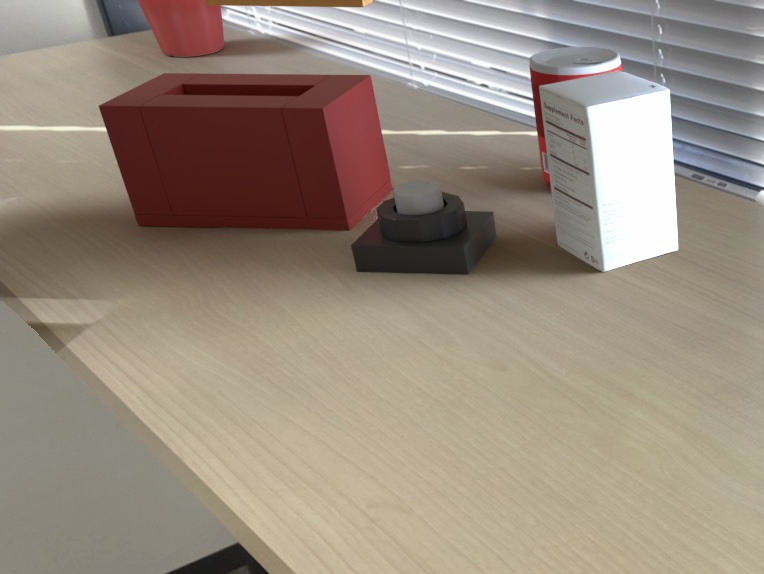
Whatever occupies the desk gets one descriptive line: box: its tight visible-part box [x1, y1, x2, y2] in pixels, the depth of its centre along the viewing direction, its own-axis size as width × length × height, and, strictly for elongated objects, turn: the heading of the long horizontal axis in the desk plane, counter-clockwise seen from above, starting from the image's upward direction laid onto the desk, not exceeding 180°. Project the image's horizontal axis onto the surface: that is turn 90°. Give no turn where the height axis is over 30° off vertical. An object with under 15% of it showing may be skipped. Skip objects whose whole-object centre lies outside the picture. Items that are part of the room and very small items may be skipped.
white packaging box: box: [539, 70, 679, 273], centre depth 89 cm, size 7×7×13 cm
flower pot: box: [137, 0, 225, 58], centre depth 150 cm, size 11×11×10 cm
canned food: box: [528, 46, 623, 190], centre depth 103 cm, size 8×8×11 cm
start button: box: [392, 180, 444, 215], centre depth 90 cm, size 4×4×2 cm
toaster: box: [98, 72, 394, 231], centre depth 100 cm, size 19×10×10 cm, turn 84°
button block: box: [350, 191, 498, 276], centre depth 92 cm, size 9×8×4 cm
